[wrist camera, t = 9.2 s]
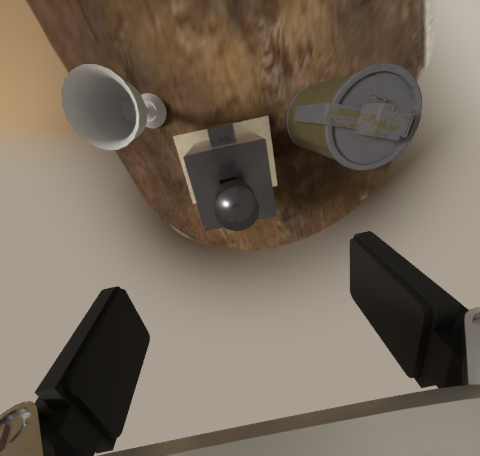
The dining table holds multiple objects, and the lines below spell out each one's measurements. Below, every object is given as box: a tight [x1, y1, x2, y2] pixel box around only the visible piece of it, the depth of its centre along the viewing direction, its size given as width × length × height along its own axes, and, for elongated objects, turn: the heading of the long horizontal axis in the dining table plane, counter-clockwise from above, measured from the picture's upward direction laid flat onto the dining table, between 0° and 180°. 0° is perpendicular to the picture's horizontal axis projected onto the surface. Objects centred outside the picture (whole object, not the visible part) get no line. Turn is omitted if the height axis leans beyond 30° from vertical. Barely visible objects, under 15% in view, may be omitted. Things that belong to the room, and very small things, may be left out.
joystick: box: [173, 116, 278, 231], centre depth 35 cm, size 16×12×17 cm
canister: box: [286, 63, 422, 170], centre depth 32 cm, size 11×10×20 cm
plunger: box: [214, 175, 259, 231], centre depth 31 cm, size 6×6×22 cm
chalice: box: [61, 64, 167, 150], centre depth 31 cm, size 7×7×18 cm
